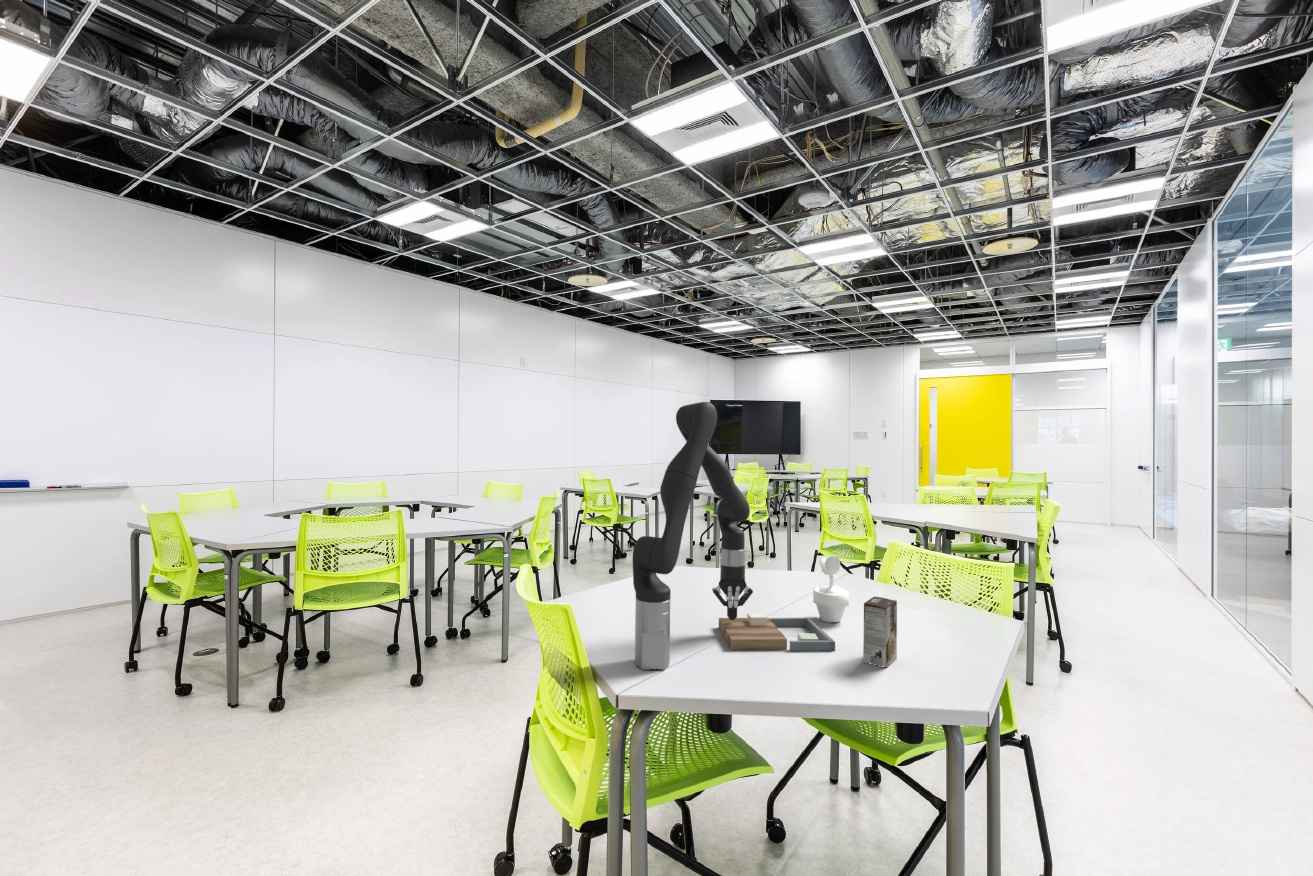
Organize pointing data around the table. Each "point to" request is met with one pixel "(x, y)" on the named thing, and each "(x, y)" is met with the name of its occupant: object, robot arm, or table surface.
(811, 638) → the tile sage
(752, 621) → the tile cream
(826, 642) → the tray
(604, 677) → the table surface
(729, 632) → the board
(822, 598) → the potted plant
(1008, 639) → the table surface
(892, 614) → the coffee box
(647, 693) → the table surface
